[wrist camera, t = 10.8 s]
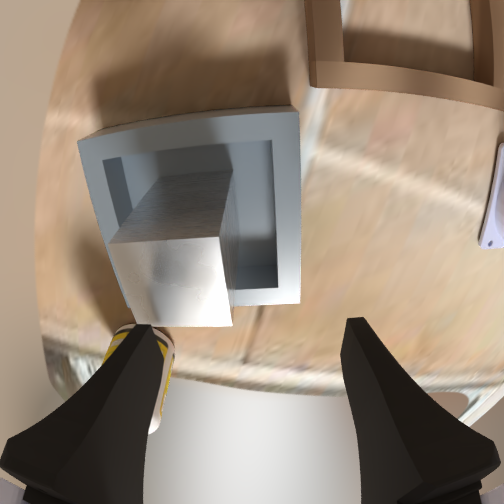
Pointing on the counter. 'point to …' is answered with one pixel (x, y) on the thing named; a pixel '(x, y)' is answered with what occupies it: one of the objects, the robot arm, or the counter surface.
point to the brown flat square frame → (405, 79)
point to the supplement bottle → (169, 357)
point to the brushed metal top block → (181, 251)
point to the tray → (206, 160)
